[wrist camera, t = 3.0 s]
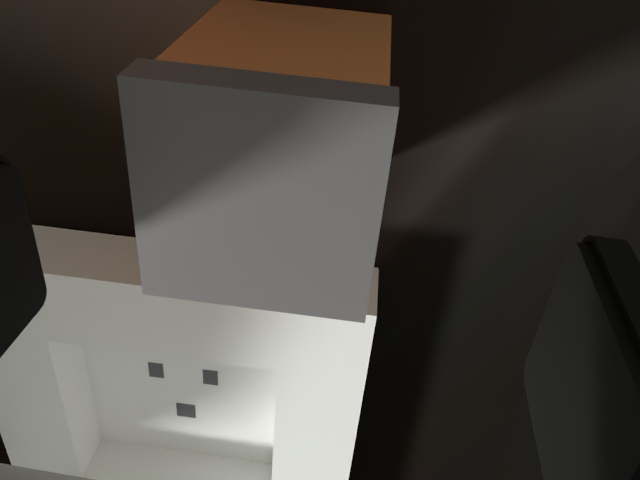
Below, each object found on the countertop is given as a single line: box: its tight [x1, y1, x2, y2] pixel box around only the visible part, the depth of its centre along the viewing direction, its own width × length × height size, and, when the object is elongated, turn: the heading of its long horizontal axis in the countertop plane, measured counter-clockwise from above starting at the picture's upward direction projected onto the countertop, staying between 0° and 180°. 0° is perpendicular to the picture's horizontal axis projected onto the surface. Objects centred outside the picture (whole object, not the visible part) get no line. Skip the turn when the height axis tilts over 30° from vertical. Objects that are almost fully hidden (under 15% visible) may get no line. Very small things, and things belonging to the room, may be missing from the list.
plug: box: [117, 0, 399, 323], centre depth 14 cm, size 5×5×7 cm
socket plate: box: [0, 225, 379, 480], centre depth 23 cm, size 14×14×3 cm
